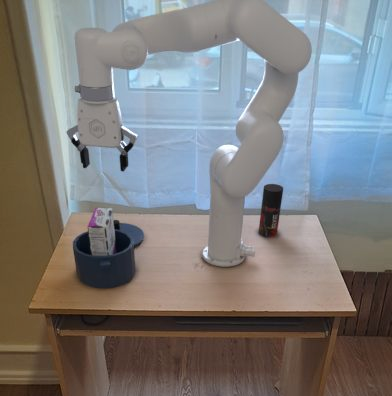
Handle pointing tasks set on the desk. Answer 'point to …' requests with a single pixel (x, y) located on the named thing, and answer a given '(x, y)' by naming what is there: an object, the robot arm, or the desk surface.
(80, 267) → the pot
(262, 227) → the deodorant
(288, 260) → the desk surface
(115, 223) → the pot lid
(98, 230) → the candy bar box
